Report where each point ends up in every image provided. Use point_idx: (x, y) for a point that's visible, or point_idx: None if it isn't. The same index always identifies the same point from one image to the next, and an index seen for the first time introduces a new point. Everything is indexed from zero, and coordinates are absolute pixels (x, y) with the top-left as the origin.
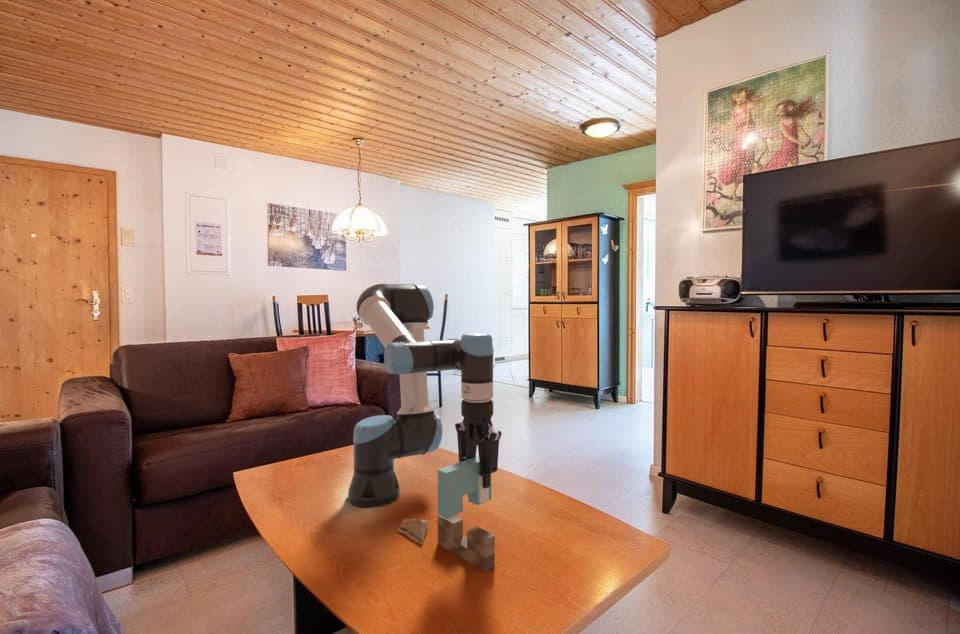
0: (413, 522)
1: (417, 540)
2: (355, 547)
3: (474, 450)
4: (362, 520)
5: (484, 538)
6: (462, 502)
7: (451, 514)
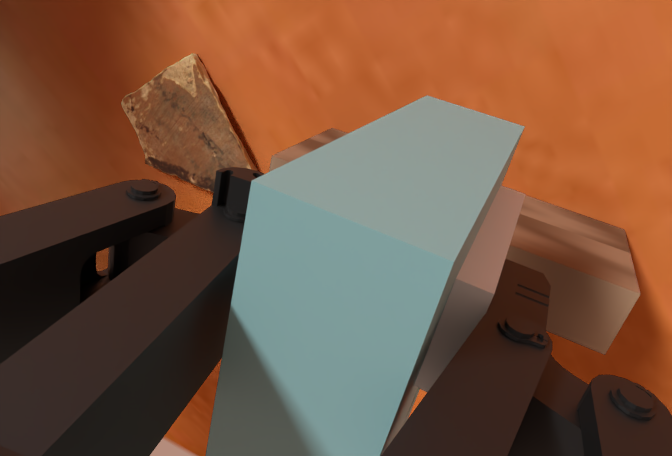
0: (161, 111)
1: None
2: None
3: (156, 372)
4: (31, 154)
5: (594, 340)
6: (411, 405)
7: None
